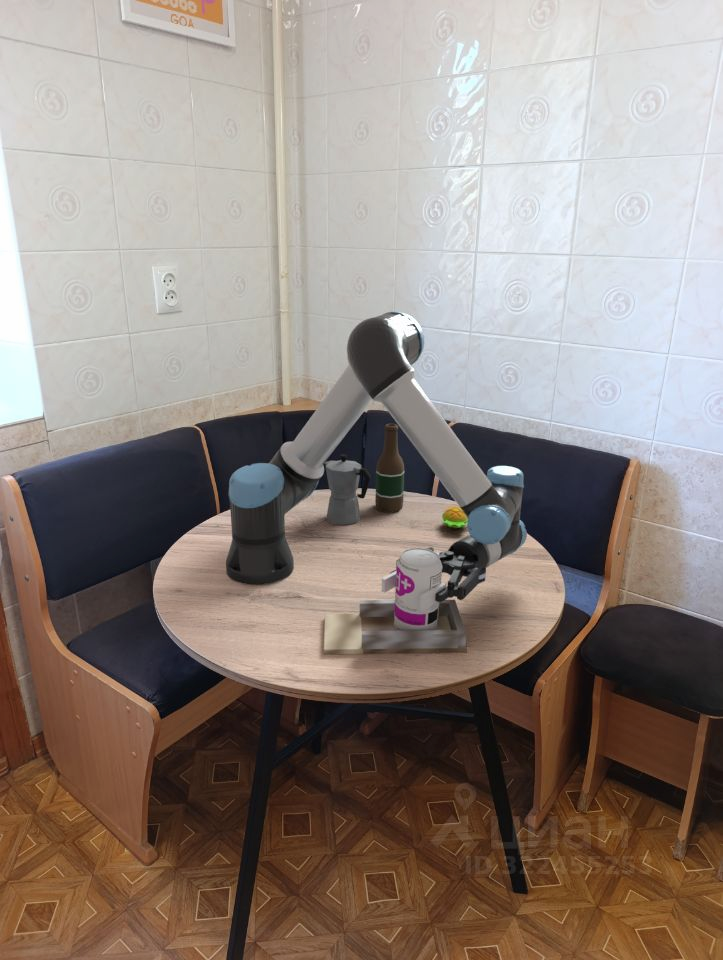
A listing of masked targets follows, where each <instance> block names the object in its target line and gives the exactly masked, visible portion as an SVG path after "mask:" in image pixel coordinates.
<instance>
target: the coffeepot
mask: <svg viewBox="0 0 723 960" xmlns="http://www.w3.org/2000/svg"><path fill="white" fill-rule="evenodd" d="M347 457H348V455H347V454H340V460H326V461H325V462H324V464H323V465H325V471H326V478H327V483H328V489H329V491H330V496H329V500H328V506H327V512H326V517H325V519H326V520H327V521H328V522H329V523H331V524H334V525H338V526H349V525H354V524H357V523H358V522H359V521H360V519H361V510H360V505H359V499H364V498H366V495H367V491H368V488H369V485H370V481H371V479H372V476H371V474H370V473H369V471H368V470H367V469H365V468H364V467H362V466H363V465H362V464H360V463H358V462H357V461H355V460H347ZM360 476H363V478H364V479H363V482H362V483H363V484H362V487H361V490H360V491H361V492H360V493H357V491H358V488H359V482H360V478H361V477H360Z"/></svg>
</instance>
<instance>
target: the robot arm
mask: <svg viewBox="0 0 723 960" xmlns="http://www.w3.org/2000/svg"><path fill="white" fill-rule="evenodd" d="M347 339H348V340H347V344H346V355H347V356H346V357H347V362H348V366H347V367H346V368H345V370H344V371H343V373H342V374H341V375H340V377H339V378H338V379H337V380H336V382H335V384H334V385H333V386H332V387H331V389H330V390H329V391H328V393H327V394H326V396H325V397H324V399H323V400H322V401H321V403H320V404H319V406H318V407H317V408H316V410H315V411H314V413H312V415H311V416H310V418H309V420H308V421H307V422H306V423H305V425H304V426H303V427H302V429H301V430H300V432H299V433H298V434H297V435H296V437H295V439H294V440H293V441H286V442H284V443H283V444H282V445H281V446H280V448H279V449H278V450H277V452H276V453H275V455H274V456H273V457H272V458H271V460H270V461H269V462H268V463H265V462H257V463H251V464H250V465H244V466H242V467H240V468H238V469H236V470H235V471H234V472H233V473H232V474H231V476H230V478H229V482H228V486H229V487H228V498H229V510H230V523H231V524H230V525H231V537H232V538H231V542H230V543H231V544H230V546H229V550H228V553H227V557H226V561H225V569H226V570H225V571H226V575H227V576H228V578H229V579H230V580H232V581H235V582H237V583H238V584H239V583H240V584H242V585H243V584H244V585H253V586H257V585H268V584H273V583H277V582H279V581H282V580H284V579H286V578H287V577H289V576H290V575H291V574H292V573H293V571H294V568H295V567H294V565H295V563H294V562H295V561H294V555H293V553H292V550H291V548H290V545H289V543H288V540H287V538H286V529H285V528H286V526H285V525H286V524H285V515H286V514H287V513H288V512H289V511H291V510H292V509H293V508H294V507H296V506H297V505H299V504H300V503H301V502H303V501H304V500H306V499H308V498H309V497H310V496H312V494H313V493H314V492H315V490H316V488H317V487H318V485H319V481H320V479H321V478H322V477H323V476H324V474H325V473H324V472H325V467H324V465H325V464H324V462H326V461H328V460H327V459H328V458H329V457H330V456H331V454H332V453H333V452H334V451H335V450H336V448H337V447H338V445H340V443H341V442H342V440H343V439H344V438H345V436H346V435H347V434H348V432H349V431H350V430H351V429H352V428H353V426H354V425H355V423H357V421H358V420H359V419H360V417H361V415H362V414H363V413H365V411H366V410H367V408H368V407H369V406H370V404H371V403H372V402H378V403H381V404H382V405H383V406H384V407H385V409H386V410H387V412H388V413H389V414H390V416H391V417H392V419H394V421H395V422H396V423H397V424H396V425H398V427H399V428H400V429H401V430H402V432H403V433H404V434H405V435H406V437H407V438H408V440H409V441H410V442H411V444H412V445H413V447H414V449H416V450H417V452H418V453H419V455H420V456H421V458H423V460H424V461H425V462H426V464H427V465H428V466H429V468H430V469H431V470H432V472H433V473H434V475H435V476H436V477H437V478H438V480H439V481H440V482H441V484H442V485H443V486H444V488H445V489H446V491H447V492H448V493H449V495H451V498H452V499H453V500H454V502H456V504H457V505H458V507H460V508H461V509H462V511H463V512H464V514H465V515H466V516H467V518H468V521H467V522H466V527H467V530H468V533H469V534H468V535H466V536H464V537H463V538H460V539H458V540H457V541H454V542H453V543H452V544H451V546H449V548H448V549H447V550H445V551H444V550H443V551H441V552H437V551H435V548H434V547H433V546H429V547H427V548H426V549H429V550H432V551H434V552H436V553H437V554H438V555H439V558H440V561H441V563H442V574H443V573H444V574H448V575H450V578H449V580H447V583H445V582H441V584H439V585H438V586H436V587H434V588H433V589H431V590H429V591H428V592H426V593H424V594H422V595H421V596H420V609H421V610H423V611H424V610H425V609H427V608H428V607H430V606H432V605H433V604H435V603H437V602H442V601H444V600H448V599H449V598H450V599H451V598H453V597H456V599H457V600H458V601H463V600H464V599H465V598H466V597H467V596H468V595H469V594H470V593H471V592H472V591H473V590H474V589H475V588H476V587H477V586H478V585H479V584H482V583H484V582H486V577H487V576H486V574H487V568H488V567H490V566H492V565H494V564H495V563H497V562H498V561H500V560H502V559H503V558H505V557H507V556H509V555H512V554H514V553H515V552H516V551H517V550H518V549H520V548H521V547H522V546H523V545H524V544H525V542H526V540H527V537H528V532H527V529H526V525H525V523H524V522H523V521H522V520H521V509H522V499H523V490H524V488H525V485H524V472H523V471H522V470H520V469H519V468H517V467H514V466H510V465H509V466H508V465H496V466H492V467H490V468H489V469H488V470H487V473H486V474H485V473H484V471H483V470H482V469H481V467H480V466H479V465H478V463H477V461H475V459H474V458H473V457H472V455H471V454H470V452H469V451H468V450H467V449H466V447H465V445H464V444H463V443H462V441H461V440H460V438H458V437H457V435H456V433H455V432H454V430H453V429H452V428H451V427H450V426H449V425H448V423H447V422H446V419H444V417H443V416H442V415H441V413H440V412H439V411H438V409H437V408H436V407H435V405H434V404H433V402H432V401H431V400H430V398H429V397H428V396H427V395H426V393H425V392H424V389H422V387H421V386H420V385H419V383H418V382H417V381H416V379H415V378H414V377H415V369H414V368H413V367H412V366H413V364H415V363H416V362H417V361H418V360H419V358H420V357H421V355H422V353H423V351H424V348H425V335H424V331H423V329H422V327H421V325H420V324H419V323H418V321H417V320H416V319H415V318H414V317H413V316H411V315H409V314H407V313H405V312H400V311H389V312H385V313H383V314H381V315H377V316H373V317H370V318H367V319H364V320H362V321H360V322H359V323H357V325H356V326H355V327H354V328H353V329H352V331H351V332H350V334H349V337H348V338H347ZM397 561H398V559H396V561H395V562H396V568H395V569H394V570H392V571H391V572H389V574H388V575H385V576H384V577H382V578H381V592H382V593H383V594H385V593H386V592H388V591H390V590H392V589H394V588H396V570H397ZM463 577H464V579H463V580H462V578H463Z"/></svg>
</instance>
